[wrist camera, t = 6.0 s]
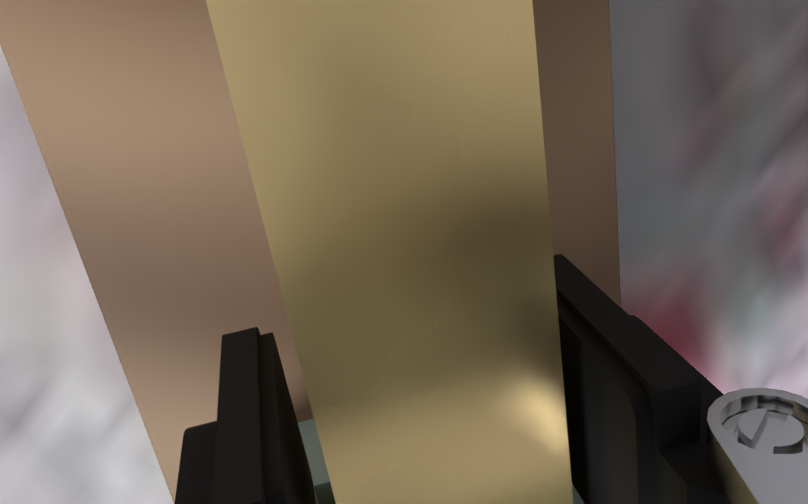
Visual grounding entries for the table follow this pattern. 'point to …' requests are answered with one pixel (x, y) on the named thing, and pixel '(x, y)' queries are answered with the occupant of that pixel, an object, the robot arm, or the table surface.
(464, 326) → the brass inner tube
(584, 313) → the robot arm
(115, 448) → the table surface
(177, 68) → the walnut base board
